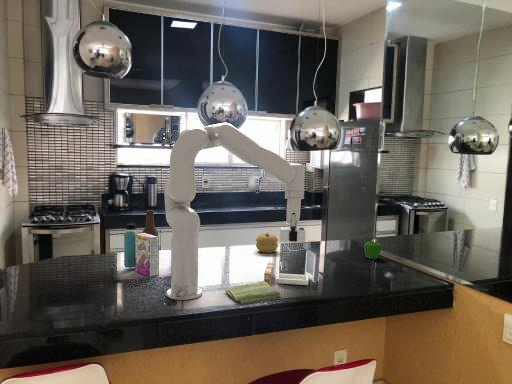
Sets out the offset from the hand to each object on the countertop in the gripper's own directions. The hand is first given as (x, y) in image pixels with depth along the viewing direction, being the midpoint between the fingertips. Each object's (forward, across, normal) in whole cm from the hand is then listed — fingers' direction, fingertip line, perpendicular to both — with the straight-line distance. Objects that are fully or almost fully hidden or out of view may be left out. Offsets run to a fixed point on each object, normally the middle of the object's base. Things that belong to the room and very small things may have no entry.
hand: (293, 239), depth 161 cm
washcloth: (+18, +19, -14) cm, 29 cm away
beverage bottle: (+17, -4, -70) cm, 72 cm away
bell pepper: (+17, -46, +39) cm, 63 cm away
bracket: (+17, 0, 0) cm, 17 cm away
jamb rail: (+17, 0, -9) cm, 20 cm away
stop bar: (+1, 0, 0) cm, 1 cm away
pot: (+17, -49, -15) cm, 54 cm away
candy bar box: (+17, +1, -61) cm, 63 cm away
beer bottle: (+17, -20, -68) cm, 73 cm away
